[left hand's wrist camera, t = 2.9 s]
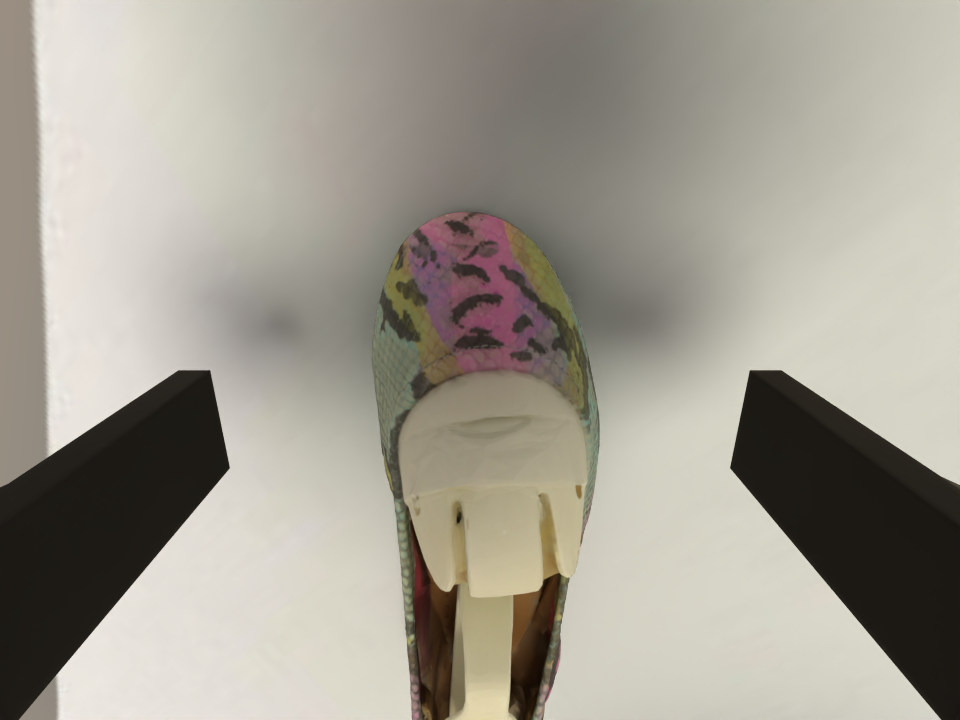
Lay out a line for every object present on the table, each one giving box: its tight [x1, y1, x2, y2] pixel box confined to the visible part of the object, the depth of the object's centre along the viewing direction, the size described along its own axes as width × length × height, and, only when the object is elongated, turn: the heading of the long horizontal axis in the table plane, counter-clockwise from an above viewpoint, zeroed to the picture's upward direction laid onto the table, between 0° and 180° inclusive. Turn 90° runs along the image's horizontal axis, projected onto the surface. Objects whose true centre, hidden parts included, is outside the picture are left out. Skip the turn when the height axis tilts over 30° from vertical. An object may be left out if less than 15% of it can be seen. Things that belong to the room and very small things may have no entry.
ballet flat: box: [372, 212, 599, 720], centre depth 19 cm, size 8×24×9 cm, turn 0°
